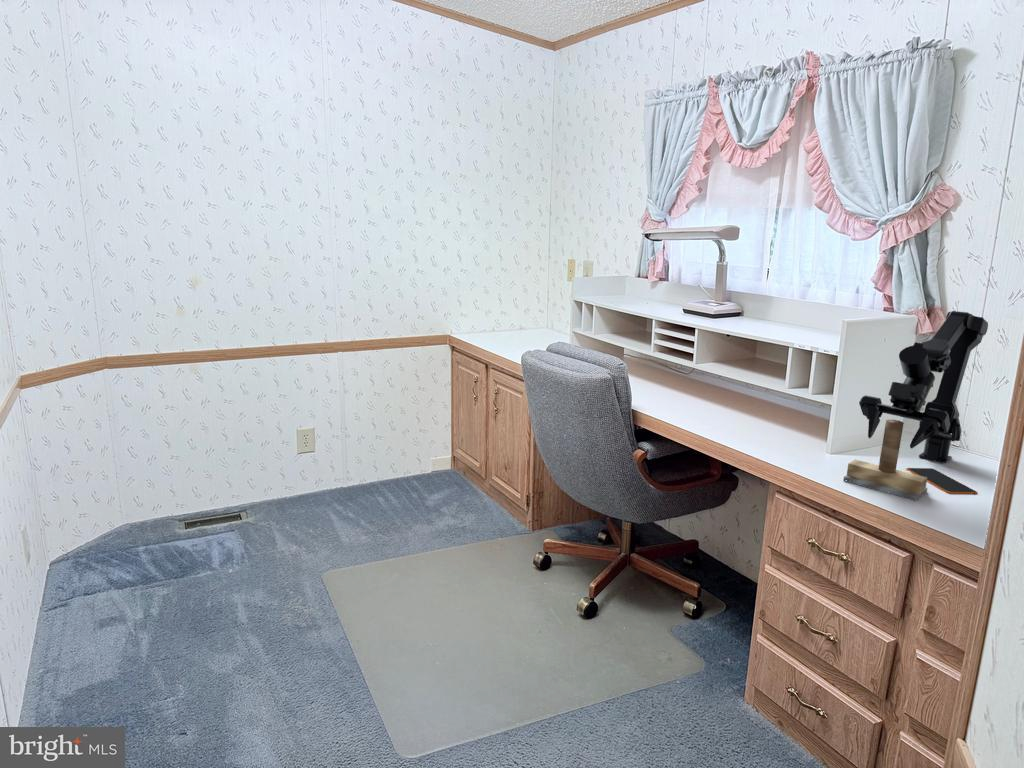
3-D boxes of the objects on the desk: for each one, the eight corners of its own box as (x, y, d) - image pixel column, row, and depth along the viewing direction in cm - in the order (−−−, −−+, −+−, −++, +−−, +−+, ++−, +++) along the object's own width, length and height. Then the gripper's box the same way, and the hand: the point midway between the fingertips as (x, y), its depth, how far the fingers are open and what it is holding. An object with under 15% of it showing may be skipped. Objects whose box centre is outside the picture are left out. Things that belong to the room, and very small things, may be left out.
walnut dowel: (876, 466, 164) (883, 419, 161) (892, 468, 163) (900, 420, 160) (881, 472, 160) (889, 423, 157) (897, 473, 160) (905, 424, 157)
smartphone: (932, 470, 176) (933, 467, 175) (978, 496, 160) (979, 492, 159) (904, 470, 175) (904, 467, 175) (947, 495, 159) (948, 492, 159)
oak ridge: (843, 480, 165) (845, 465, 164) (855, 473, 171) (857, 458, 170) (916, 500, 154) (919, 484, 153) (926, 491, 160) (929, 475, 159)
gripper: (868, 362, 165) (841, 413, 161) (955, 377, 152) (929, 433, 147) (876, 389, 172) (851, 439, 168) (960, 405, 159) (935, 460, 154)
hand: (889, 442), depth 159 cm, fingers open, 9 cm apart
